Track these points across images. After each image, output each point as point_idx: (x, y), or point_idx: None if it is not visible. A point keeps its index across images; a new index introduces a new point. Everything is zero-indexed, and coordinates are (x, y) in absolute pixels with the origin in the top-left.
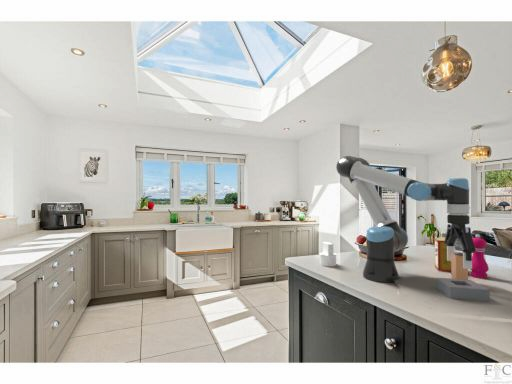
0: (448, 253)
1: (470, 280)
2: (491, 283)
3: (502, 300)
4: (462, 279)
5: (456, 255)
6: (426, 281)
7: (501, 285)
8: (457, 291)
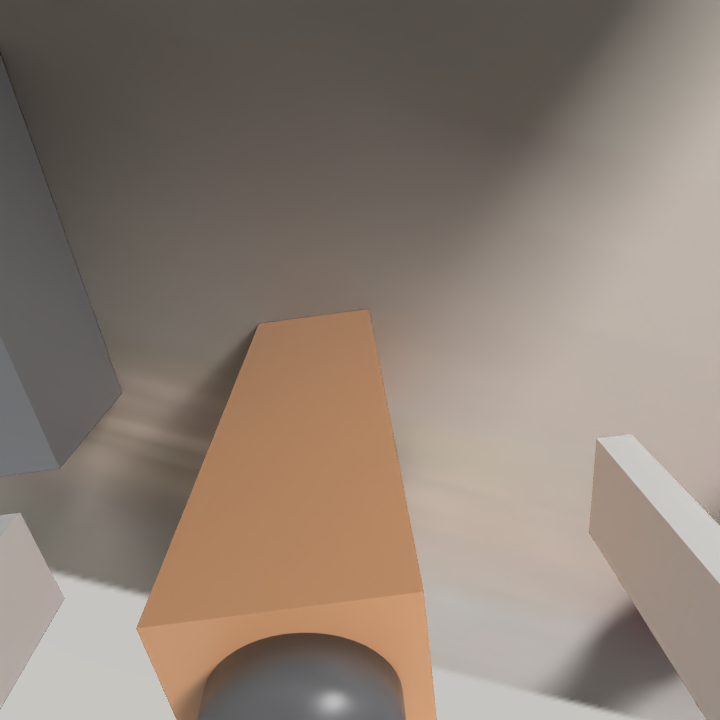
0: (688, 563)
1: (13, 461)
2: (505, 613)
3: None
4: (6, 389)
5: (214, 650)
6: (387, 17)
7: (465, 650)
8: None
